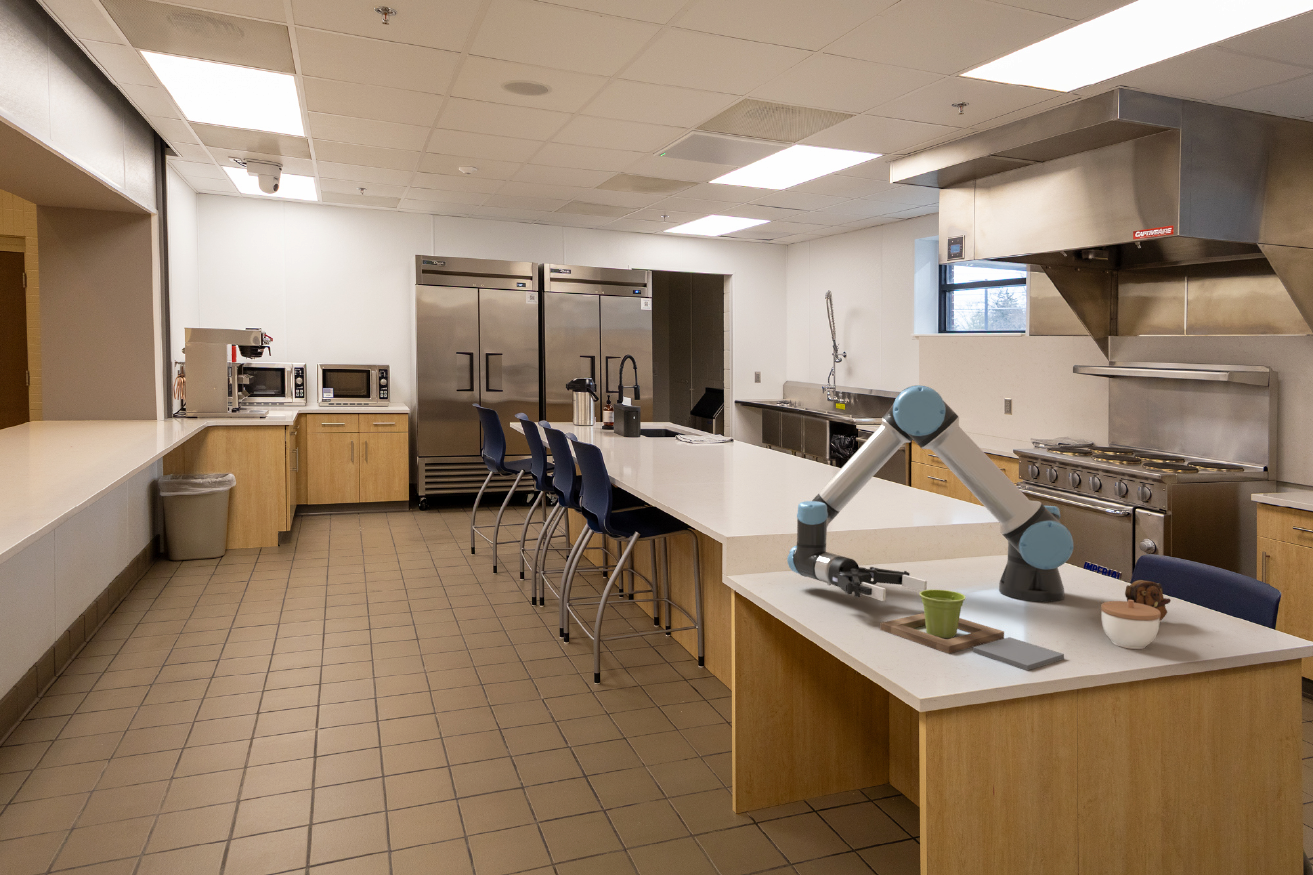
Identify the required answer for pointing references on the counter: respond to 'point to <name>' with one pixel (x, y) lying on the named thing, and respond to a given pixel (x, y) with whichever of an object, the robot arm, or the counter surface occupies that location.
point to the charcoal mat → (1018, 653)
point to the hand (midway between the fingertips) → (905, 590)
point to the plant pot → (942, 611)
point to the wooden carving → (1147, 595)
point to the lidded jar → (1130, 623)
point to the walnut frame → (975, 638)
